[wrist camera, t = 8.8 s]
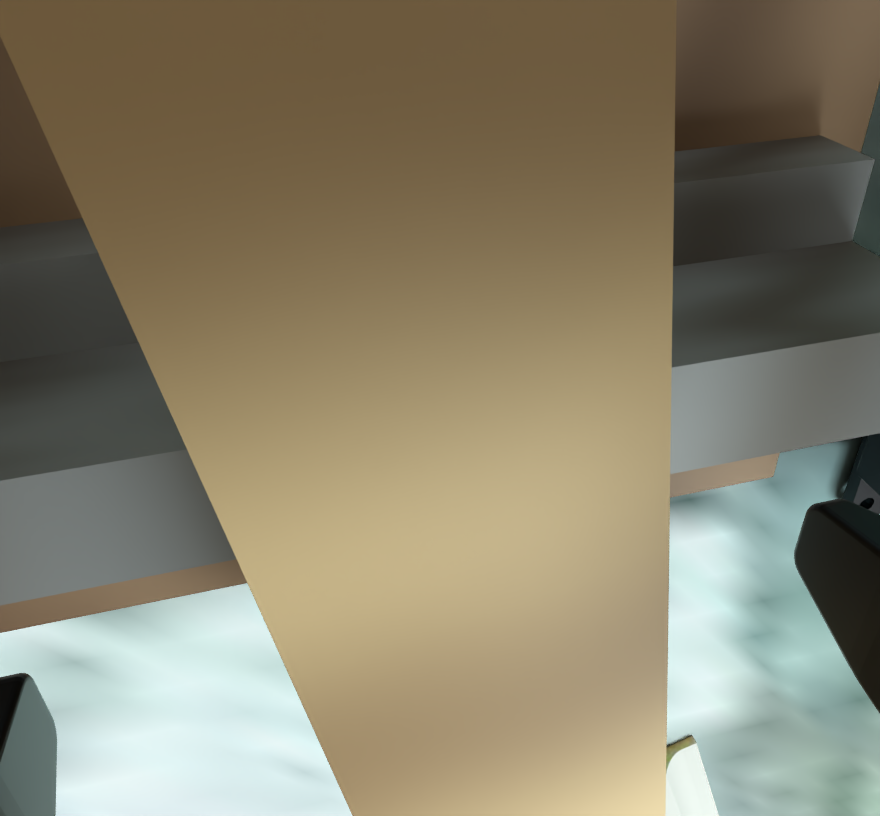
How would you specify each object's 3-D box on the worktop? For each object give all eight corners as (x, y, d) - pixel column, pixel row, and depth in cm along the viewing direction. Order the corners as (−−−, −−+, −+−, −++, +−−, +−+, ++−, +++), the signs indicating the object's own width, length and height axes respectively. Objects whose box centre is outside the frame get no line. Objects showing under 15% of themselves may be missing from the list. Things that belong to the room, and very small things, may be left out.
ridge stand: (864, -91, 14) (1199, -66, 10) (740, 441, 21) (900, 611, 16) (-447, -23, 11) (-969, 76, 6) (-86, 599, 17) (-190, 879, 13)
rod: (575, 794, 17) (662, 1007, 14) (419, 849, 17) (472, 1081, 14) (398, -697, 5) (698, -1485, 2) (-132, -633, 5) (-676, -1457, 2)
